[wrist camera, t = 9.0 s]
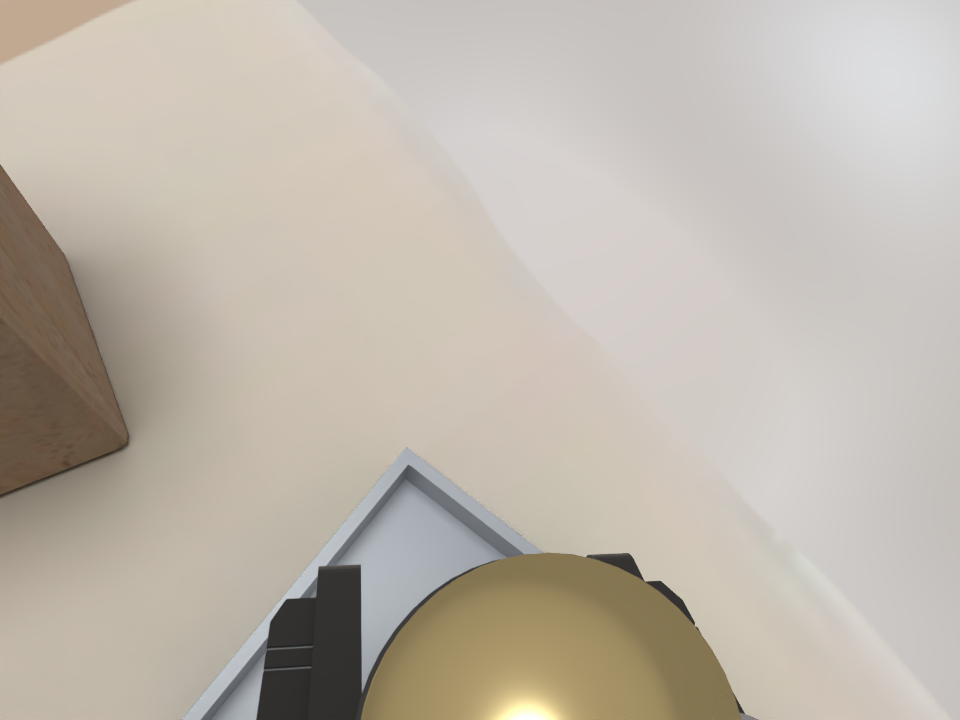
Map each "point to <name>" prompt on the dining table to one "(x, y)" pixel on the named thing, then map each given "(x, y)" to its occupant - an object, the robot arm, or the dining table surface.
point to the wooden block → (46, 357)
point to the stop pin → (546, 650)
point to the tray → (380, 569)
